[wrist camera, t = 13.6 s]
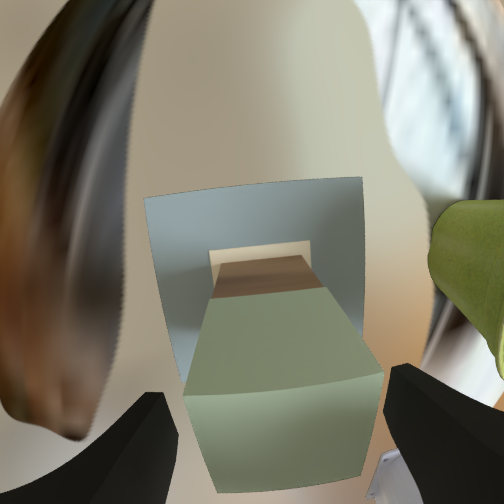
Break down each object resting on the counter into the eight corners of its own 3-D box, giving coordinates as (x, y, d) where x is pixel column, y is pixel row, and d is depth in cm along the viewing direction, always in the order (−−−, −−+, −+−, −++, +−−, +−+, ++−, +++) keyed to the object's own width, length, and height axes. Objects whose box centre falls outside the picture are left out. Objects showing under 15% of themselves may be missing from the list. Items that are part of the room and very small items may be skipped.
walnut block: (304, 325, 16) (325, 381, 11) (231, 333, 16) (226, 392, 11) (301, 254, 15) (326, 291, 10) (221, 263, 15) (209, 303, 10)
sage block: (325, 378, 11) (360, 475, 6) (225, 389, 11) (217, 493, 6) (326, 286, 10) (384, 372, 5) (209, 299, 10) (182, 396, 5)
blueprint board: (357, 358, 17) (360, 364, 17) (183, 376, 17) (181, 383, 17) (357, 176, 15) (362, 176, 14) (147, 197, 15) (142, 198, 14)
